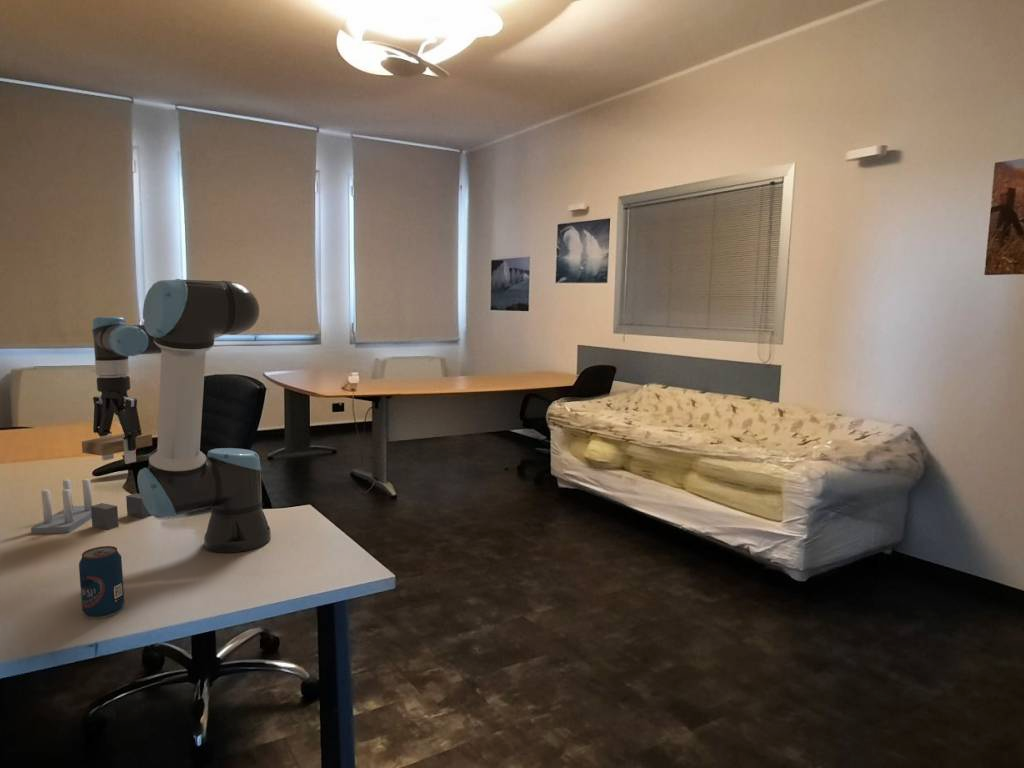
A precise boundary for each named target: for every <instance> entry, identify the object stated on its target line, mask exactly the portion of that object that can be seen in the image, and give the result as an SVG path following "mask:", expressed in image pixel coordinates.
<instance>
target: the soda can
mask: <svg viewBox="0 0 1024 768" xmlns="http://www.w3.org/2000/svg"><path fill="white" fill-rule="evenodd" d="M122 561H123V560H122V554H120V553H119V551H118V548H117V546H111V545H104V546H96V547H92V548H90V549H87V550H85V551H83V552H82V553H81V559H80V560H79V563H78V571H79V574H78V575H79V585H80V597H81V610H82V612H83V613H84V614H85V615H86V616H87V617H88V618H90V619H104V618H107V617H110V616H113V615H116V614H117V613H119V612H120V611H121V610H122V608H123V605H124V604H125V592H124V591H125V589H124V588H125V587H124V579H123V578H124V576H123V575H124V574H123V562H122Z"/></svg>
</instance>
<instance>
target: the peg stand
mask: <svg viewBox="0 0 1024 768" xmlns="http://www.w3.org/2000/svg"><path fill="white" fill-rule="evenodd" d="M81 483H82V493H83V495H82V496H83V505H73V496H72V495H73V493H72V480H71V479H64V480H62V491H61V492H62V495H61V496H62V505H63V509H62V510H60V511H58V512H57V513H55V514H53V512H52V500H51V490H50V489H44V490H41V492H40V493H41V502H42V504H41V505H42V514H43V520H42V521H41V522H39V523H37V524H35V525H33V526H31V528H30V532H31V533H30V534H32V535H33V534H35V535H36V534H64V533H66V534H67V533H71V532H72V531H74V530H75V529H77V528H79V527H80V526H82V525H83V524H85V523H87V522H88V521H89V520H92V516H91V506H93V503H92V489H91V488H92V486H91V478H84V479H82V481H81Z"/></svg>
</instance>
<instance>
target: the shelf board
mask: <svg viewBox="0 0 1024 768" xmlns="http://www.w3.org/2000/svg"><path fill="white" fill-rule="evenodd" d="M141 433H142V434H141V435H140V436H137V437H136V450H137V449H141V448H145V447H150V446H153V435H152V433H143V432H141ZM129 434H130V432H129ZM124 437H125V435H124V432H123V433H119V434H114V435H113V434H112V436H108V437H103V438H100V437H98V438H93V439H89V440H83V441H81V453H82V454H88V455H94V456H101V457H102V456H105V455H109V454H113V455H114V454H119V453H122V452H123V453H124V444H123V438H124Z"/></svg>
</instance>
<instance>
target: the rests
mask: <svg viewBox="0 0 1024 768" xmlns="http://www.w3.org/2000/svg"><path fill="white" fill-rule="evenodd" d="M125 498H126V499H125V501H126V515H127V516H129V517H134V518H139V519H145V518H148V517H151V516H152V515H151V514H150V513H149V512H148V511H147V509H146V507H145V506H144V503H143V501H142V498H141V496H140V493H137V492H136V493H132V494H128V495H126V496H125ZM91 516H92V518H91V526H92V527H93V528H97V529H102V530H107V531H108V530H109V531H110V530H111V529H115V528H117V527H119V512H118V505H115V504H109V503H104V502H103V503H102V502H100V503H97V504H94V505H93V504H92V506H91Z"/></svg>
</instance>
